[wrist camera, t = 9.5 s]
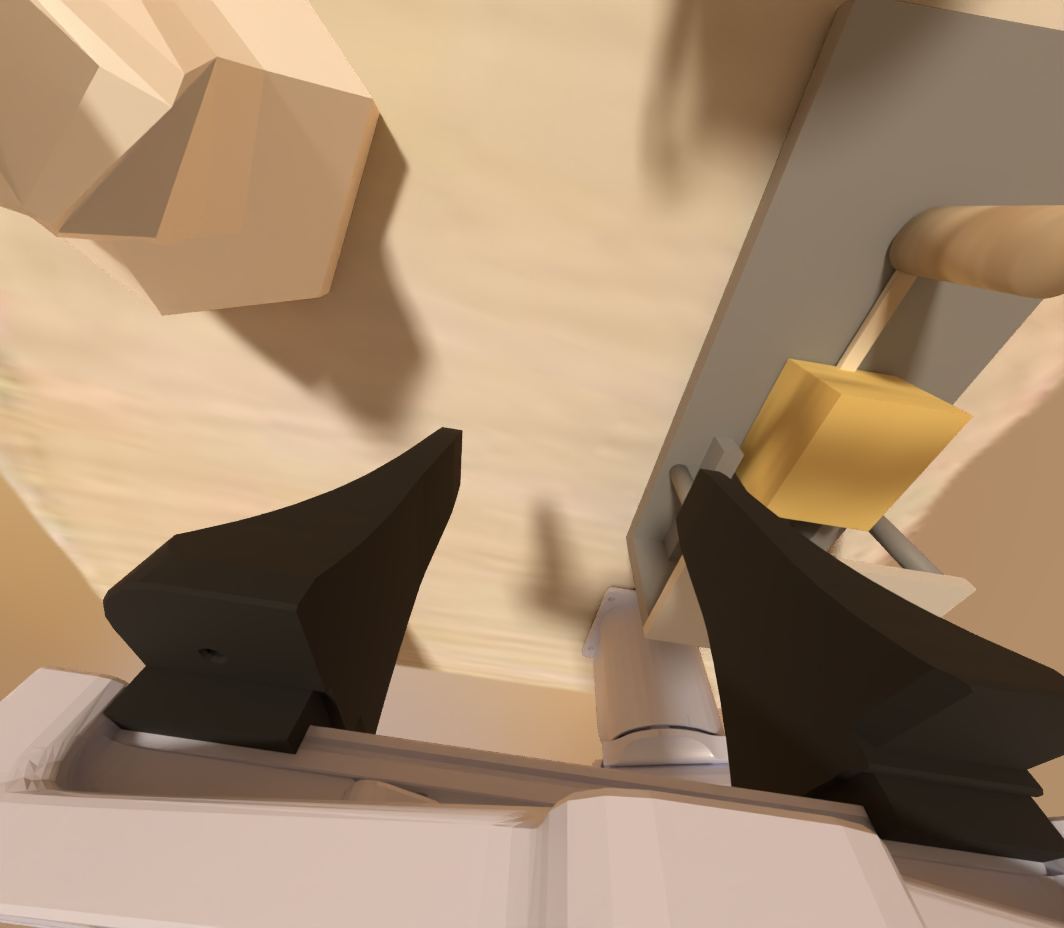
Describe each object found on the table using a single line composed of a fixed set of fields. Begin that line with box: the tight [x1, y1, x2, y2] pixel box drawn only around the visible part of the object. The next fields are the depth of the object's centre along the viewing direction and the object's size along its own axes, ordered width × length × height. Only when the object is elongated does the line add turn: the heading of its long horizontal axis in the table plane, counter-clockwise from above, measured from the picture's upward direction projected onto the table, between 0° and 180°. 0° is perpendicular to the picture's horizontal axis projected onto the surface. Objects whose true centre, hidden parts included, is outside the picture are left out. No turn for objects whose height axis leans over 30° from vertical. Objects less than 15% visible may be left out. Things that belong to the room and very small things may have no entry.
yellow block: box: [735, 205, 1064, 531], centre depth 15 cm, size 12×5×5 cm, turn 172°
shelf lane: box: [626, 0, 1064, 648], centre depth 16 cm, size 24×12×7 cm, turn 172°
